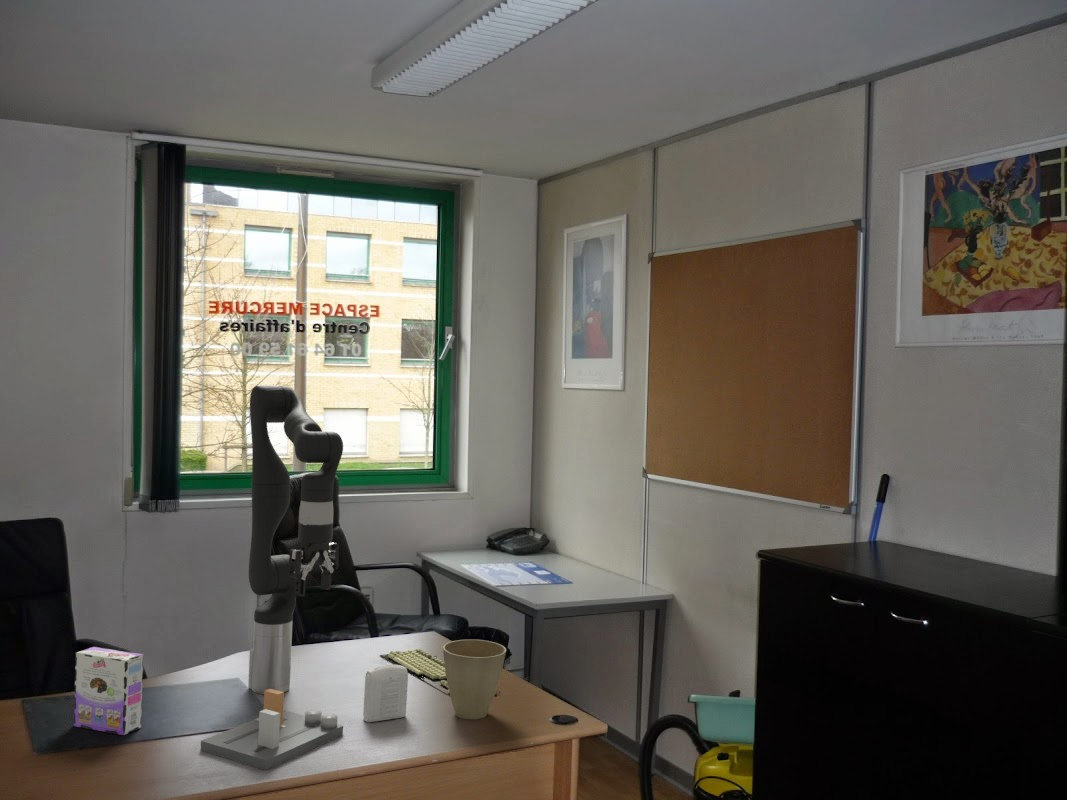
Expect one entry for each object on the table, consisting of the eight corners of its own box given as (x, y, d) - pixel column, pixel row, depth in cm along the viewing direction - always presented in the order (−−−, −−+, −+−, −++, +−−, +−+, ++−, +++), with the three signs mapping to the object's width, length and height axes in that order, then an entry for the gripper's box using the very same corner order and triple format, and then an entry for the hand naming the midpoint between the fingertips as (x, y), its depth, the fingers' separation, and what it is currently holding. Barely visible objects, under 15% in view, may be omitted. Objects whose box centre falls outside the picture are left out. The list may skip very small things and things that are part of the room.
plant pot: (438, 724, 235) (441, 655, 234) (441, 703, 249) (444, 638, 249) (503, 726, 235) (507, 657, 235) (502, 705, 250) (505, 640, 250)
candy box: (142, 727, 224) (145, 653, 223) (123, 736, 218) (126, 660, 218) (91, 718, 228) (94, 645, 228) (72, 726, 223) (74, 651, 222)
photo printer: (400, 712, 242) (403, 660, 241) (408, 717, 238) (411, 665, 238) (360, 718, 236) (362, 665, 236) (368, 724, 233) (370, 670, 232)
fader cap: (263, 722, 224) (264, 690, 224) (268, 720, 226) (270, 688, 226) (277, 726, 223) (278, 694, 222) (282, 723, 224) (284, 692, 224)
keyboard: (378, 658, 287) (379, 649, 287) (424, 653, 295) (425, 644, 295) (460, 706, 250) (461, 696, 250) (510, 698, 258) (511, 688, 258)
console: (200, 750, 213) (202, 707, 212) (280, 718, 234) (282, 679, 234) (265, 770, 204) (267, 725, 204) (342, 734, 225) (344, 694, 225)
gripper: (323, 515, 237) (320, 585, 237) (281, 522, 224) (278, 595, 225) (349, 519, 233) (346, 589, 234) (307, 526, 220) (304, 600, 221)
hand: (313, 592), depth 229 cm, fingers open, 8 cm apart
